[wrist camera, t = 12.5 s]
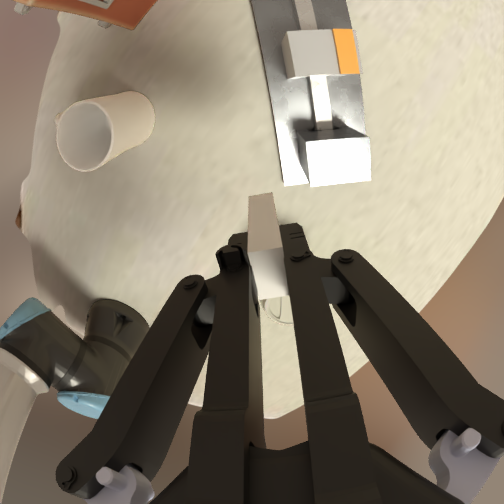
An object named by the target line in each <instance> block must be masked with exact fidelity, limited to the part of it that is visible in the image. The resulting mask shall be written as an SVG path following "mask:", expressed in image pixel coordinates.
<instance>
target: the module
mask: <svg viewBox="0 0 504 504" xmlns="http://www.w3.org/2000/svg"><path fill="white" fill-rule="evenodd" d="M281 47H282V52H283V58H284V63H285V68H286V74H287V79H296V78H303V77H317V76H344V75H355V74H363V70H362V63H361V57H360V51H359V45H358V40H357V35H356V30H352V29H324V30H299V31H287V32H286V34H285V36H284V38H283V40H282V42H281Z"/></svg>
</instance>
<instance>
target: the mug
mask: <svg viewBox="0 0 504 504" xmlns="http://www.w3.org/2000/svg"><path fill="white" fill-rule="evenodd" d="M54 123H55V124H56V125H57V130H56V143H57V148H58V151H59V153H60V155H61V157H62V159H63V160H64V161H65V162H66V164H68V165H69V166H70V167H71V168H73V169H75V170H78V171H82V172H89V171H93V170H95V169H97V168H99V167H101V166H102V165H104V164H105V163H107V162H109V161H110V160H112V159H113V158H115V157H117V156H118V155H120V154H122V153H123V152H125V151H127V150H128V149H130V148H134V147H137V146H139V145H141V144H142V143H143V142H145V141H146V140H147V139H148V137H149V136H150V134H151V133H152V131H153V128H154V124H155V112H154V108H153V106H152V104H151V102H150V101H149V100H148V98H147V97H145V96H144V95H143V94H141V93H138V92H135V91H126V92H122V93H119V94H116V95H109V96H103V97H97V98H91V99H86V100H81V101H78V102H75V103H73V104H72V105H70V106H69V107H68V108H67V109H66V110H65V111H64V112H61V113H58V114H57V115H56V116H55V119H54Z"/></svg>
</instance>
